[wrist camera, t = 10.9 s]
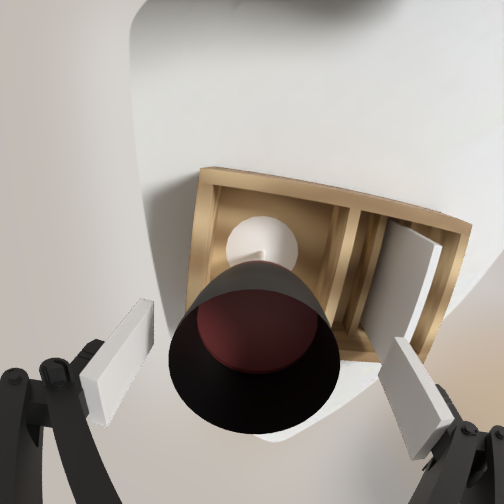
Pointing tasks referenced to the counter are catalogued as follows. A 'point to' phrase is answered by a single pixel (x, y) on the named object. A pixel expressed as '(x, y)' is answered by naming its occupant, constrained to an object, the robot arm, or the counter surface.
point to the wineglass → (255, 338)
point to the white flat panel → (398, 286)
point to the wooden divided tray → (324, 246)
